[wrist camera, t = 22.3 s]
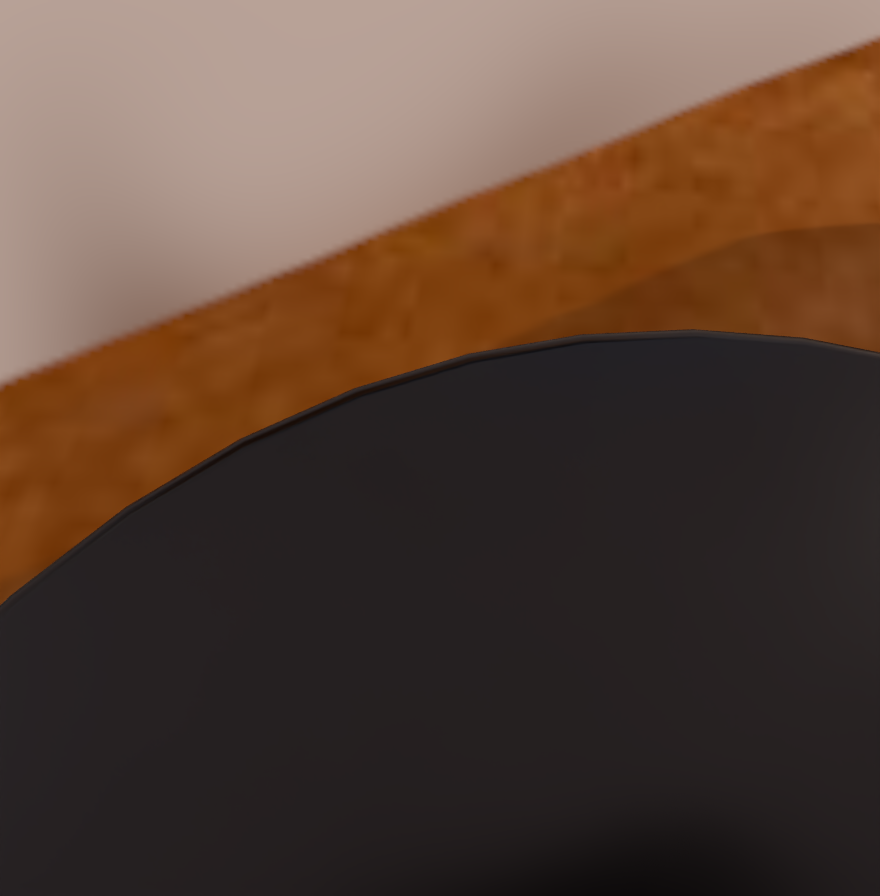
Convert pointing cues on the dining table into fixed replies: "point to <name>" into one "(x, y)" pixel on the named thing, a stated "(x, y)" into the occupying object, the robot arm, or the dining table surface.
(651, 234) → the dining table surface
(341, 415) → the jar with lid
